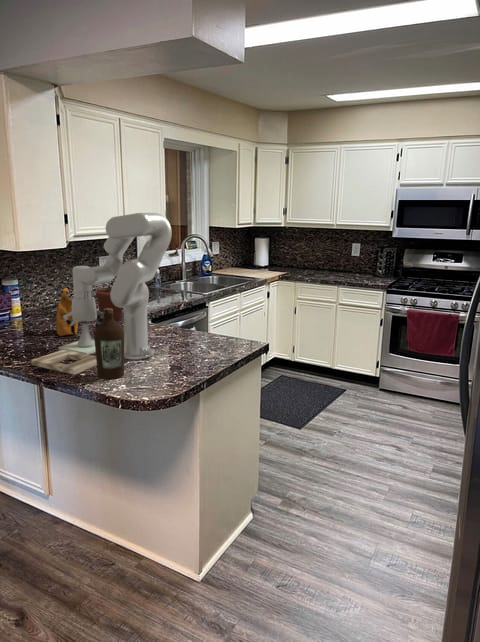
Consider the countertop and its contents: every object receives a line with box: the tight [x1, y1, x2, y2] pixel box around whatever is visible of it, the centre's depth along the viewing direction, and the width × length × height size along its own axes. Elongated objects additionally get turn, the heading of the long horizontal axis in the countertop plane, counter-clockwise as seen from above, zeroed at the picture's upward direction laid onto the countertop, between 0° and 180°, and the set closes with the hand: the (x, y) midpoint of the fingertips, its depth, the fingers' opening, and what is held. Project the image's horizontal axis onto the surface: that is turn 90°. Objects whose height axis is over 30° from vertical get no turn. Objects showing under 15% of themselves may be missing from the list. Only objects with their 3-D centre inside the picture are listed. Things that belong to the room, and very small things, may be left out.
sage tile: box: [57, 339, 96, 355], centre depth 203 cm, size 16×16×1 cm
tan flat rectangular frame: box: [31, 350, 97, 375], centre depth 181 cm, size 22×16×2 cm
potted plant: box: [94, 281, 125, 322], centre depth 252 cm, size 18×22×25 cm
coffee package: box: [55, 287, 79, 337], centre depth 223 cm, size 10×12×22 cm
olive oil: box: [93, 308, 125, 380], centre depth 167 cm, size 11×11×25 cm
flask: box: [77, 322, 95, 347], centre depth 201 cm, size 7×7×10 cm
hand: (85, 333), depth 201 cm, fingers open, 9 cm apart
